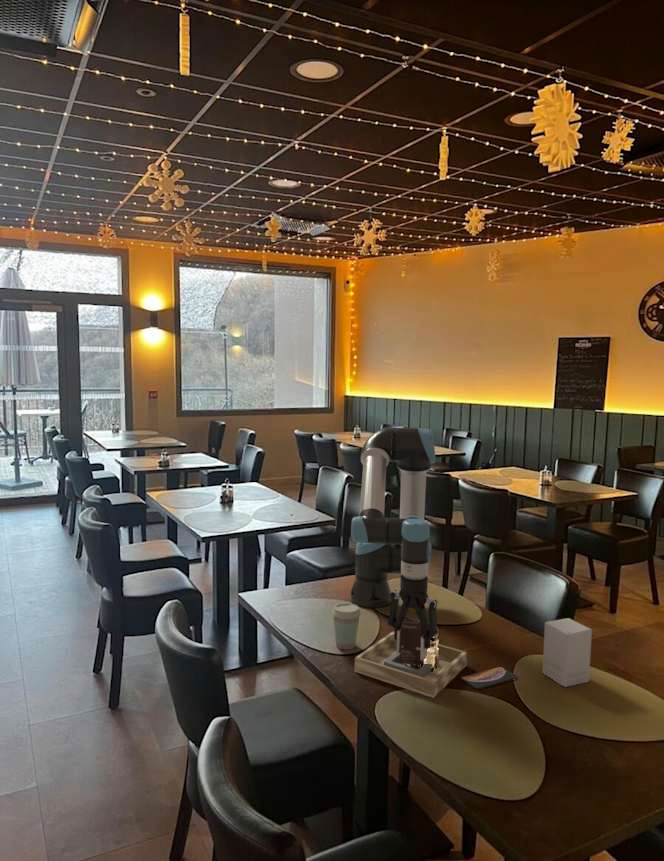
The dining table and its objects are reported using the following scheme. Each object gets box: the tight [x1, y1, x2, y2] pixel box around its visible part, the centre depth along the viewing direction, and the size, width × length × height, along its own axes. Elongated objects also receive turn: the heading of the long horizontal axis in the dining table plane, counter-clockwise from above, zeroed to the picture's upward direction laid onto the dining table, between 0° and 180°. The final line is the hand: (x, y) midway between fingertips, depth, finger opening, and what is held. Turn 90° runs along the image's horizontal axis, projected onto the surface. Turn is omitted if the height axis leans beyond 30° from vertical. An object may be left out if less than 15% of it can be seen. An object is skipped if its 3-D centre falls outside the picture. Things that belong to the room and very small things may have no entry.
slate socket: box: [384, 652, 439, 678], centre depth 180 cm, size 12×12×2 cm
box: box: [400, 616, 423, 666], centre depth 179 cm, size 6×4×12 cm
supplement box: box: [542, 617, 593, 688], centre depth 176 cm, size 9×9×15 cm
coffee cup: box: [331, 602, 361, 651], centre depth 193 cm, size 8×8×12 cm
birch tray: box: [354, 630, 468, 699], centre depth 180 cm, size 22×24×4 cm
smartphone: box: [460, 666, 519, 691], centre depth 175 cm, size 8×1×15 cm
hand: (411, 654), depth 180 cm, fingers closed on box, 7 cm apart
